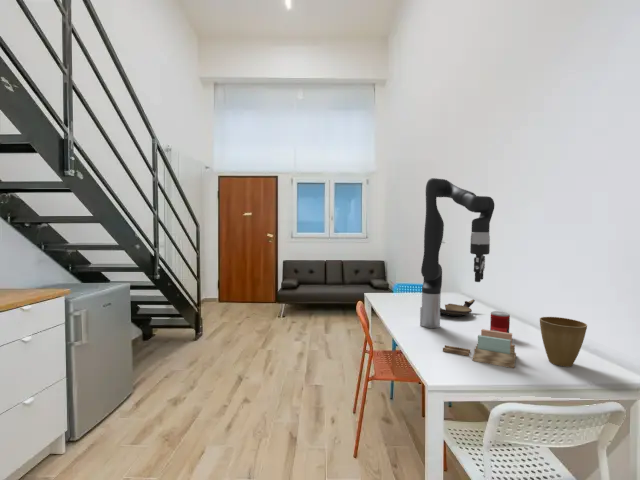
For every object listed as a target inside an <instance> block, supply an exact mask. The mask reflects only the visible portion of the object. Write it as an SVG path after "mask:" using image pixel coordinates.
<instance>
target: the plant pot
mask: <svg viewBox="0 0 640 480" xmlns="http://www.w3.org/2000/svg"><path fill="white" fill-rule="evenodd" d="M539 326H540V333H541V338H542V343H543V347H544V350H545V354H546V356H547V360H548V361H549V363H551V364H553V365H556V366H558V367H559V366H560V367H566V368H567V367H569V368H570V367H573V365H574V363H575V361H576V360H577V357H578V355H579V353H580V351H581V348H582V346H583V344H584V340H585V336H586V333H587V329H588V324H587V323H585V322H583V321H580V320H576V319H572V318H566V317H557V316H542V317H539Z"/></svg>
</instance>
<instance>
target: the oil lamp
mask: <svg viewBox="0 0 640 480" xmlns="http://www.w3.org/2000/svg"><path fill="white" fill-rule="evenodd" d="M475 301H476V300H475V299H471V300H470V301H467V300H465V301H464V303H463V305H462V304H461V305H460V304H454V303H448V304H444V307H445V309H443V308H442V307H440V314H444V315H447V316H451V317H453V316H455V317H461V316H465V315H468V314H471V313H472V312H473V311H472V308H471V306H472V305H473V304H474V303H475Z"/></svg>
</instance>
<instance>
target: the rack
mask: <svg viewBox="0 0 640 480" xmlns="http://www.w3.org/2000/svg"><path fill="white" fill-rule="evenodd" d="M515 350H516V345H515V344H512V347H510V354H505V353H499V352H493V351H487V350H481V349H478V343H476V345H475V348H474V354H473V355H472V361H474V362H479V363H484V364H490V365H495V366H500V367H504V368H505V367H506V368H509V369H510V368H511V369H515V363H516V358H517V352H516V351H515Z"/></svg>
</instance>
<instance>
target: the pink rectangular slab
mask: <svg viewBox="0 0 640 480" xmlns="http://www.w3.org/2000/svg"><path fill="white" fill-rule="evenodd" d="M480 333H481V334H480V335H482V336H489V337H496V338H502V339H509V340H510V347H512V345H513V333H512V332H509V333H506V332H499V331H492V330H490V329H485V328H484V329H483V328H482V329H481V332H480Z"/></svg>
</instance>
